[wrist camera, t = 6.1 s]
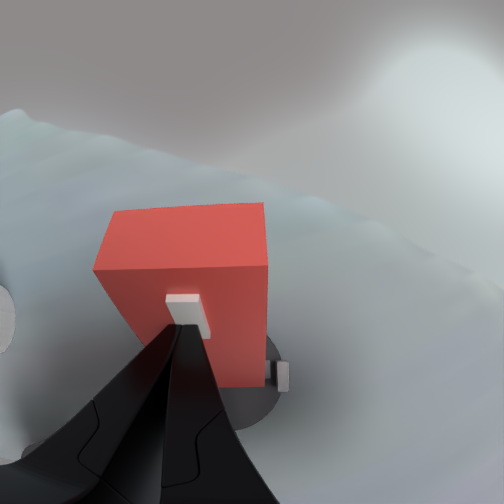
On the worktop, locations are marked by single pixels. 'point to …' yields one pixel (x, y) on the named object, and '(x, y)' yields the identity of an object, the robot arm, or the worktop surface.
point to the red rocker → (194, 280)
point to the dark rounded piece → (257, 393)
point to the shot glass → (6, 319)
